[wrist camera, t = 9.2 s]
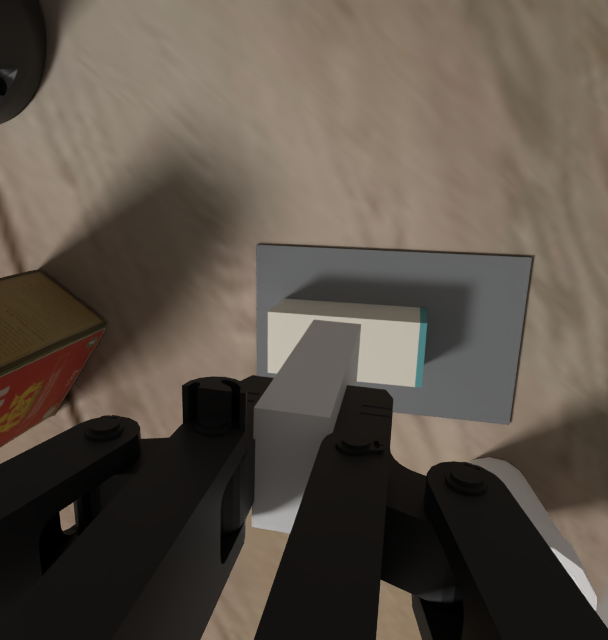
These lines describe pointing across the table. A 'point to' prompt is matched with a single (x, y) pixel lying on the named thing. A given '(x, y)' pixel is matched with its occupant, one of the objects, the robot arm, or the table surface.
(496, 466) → the foam cup
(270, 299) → the mat
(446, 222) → the table surface
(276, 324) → the cream teal rectangular block
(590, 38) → the table surface
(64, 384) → the food packaging
